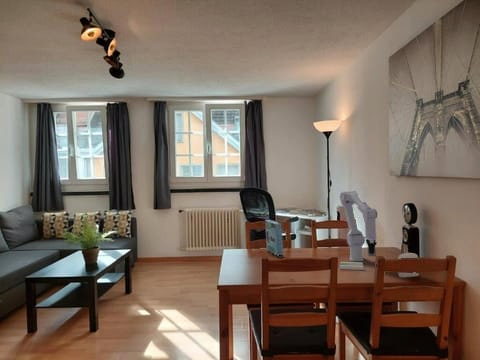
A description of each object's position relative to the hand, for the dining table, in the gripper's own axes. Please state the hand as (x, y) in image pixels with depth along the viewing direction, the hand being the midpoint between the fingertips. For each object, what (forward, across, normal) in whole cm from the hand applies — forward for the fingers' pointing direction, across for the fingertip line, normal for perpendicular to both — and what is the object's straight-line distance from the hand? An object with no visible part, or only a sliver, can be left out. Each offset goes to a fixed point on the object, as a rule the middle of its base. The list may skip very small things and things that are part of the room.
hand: (371, 252), depth 197 cm
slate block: (+2, 0, 0) cm, 2 cm away
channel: (+8, +3, -12) cm, 15 cm away
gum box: (+9, -25, -63) cm, 68 cm away
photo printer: (+9, +15, +17) cm, 24 cm away
